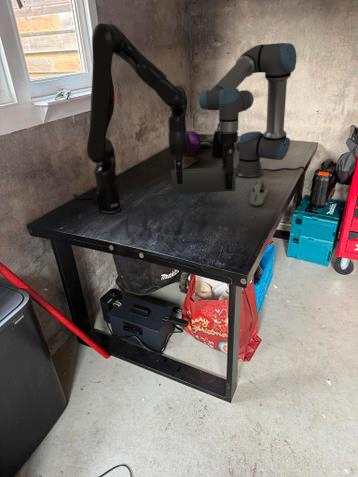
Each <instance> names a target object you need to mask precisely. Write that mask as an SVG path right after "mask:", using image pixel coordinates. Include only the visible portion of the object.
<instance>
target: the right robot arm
mask: <svg viewBox="0 0 358 477" xmlns="http://www.w3.org/2000/svg"><path fill="white" fill-rule="evenodd" d="M296 66H297V50H296V48H295V46H294V44H292V43H289V42H279V43H266V44H263V43H262V44H258V45H254V46H253V47H251V48H249V49H248V50H246V51H245V52H243V53H242V54H241V55H240V56H238V58H237V59H236V61H235V64H234V65H233V66H232V67H231V68H230V70H228V71H227V73H226V74H225V75H223V77H222V78H221V79H220V80H219V81H217V83H216V84H215V85H214V86H213V87H212V88H211V89H210V90H208V89H207V90H202V91H200V93H199V95H198V105H199V108H200V109H201V110H205V111H206V110H207V111H218V123H217V124H216V125H217V127H218V126H219V131H220V132H219V142H220V143H223V155H222V158H221V164H222V167H226V173H225V175H226V190H231V189H232V184H233V174H234V168H235V170H236V177H239V178H243V179H255V178H259V177H261V176H262V175H263V171H266V172H277V171H285V170H287V171H298V170H300V169H303V170H305V169H306V168H305V167H304V166H299V167H296V168H290V167H281V168H277V169H276V168H275V169H270V168H262V165H261V159H265V160H266V159H267V160H273V161H282V160H284V159H285V157H286V156H287V154H288V152H289V149H290V144H291V138H289V137H288V136H287V131H285V130H284V129H285V116H286V102H287V100H286V99H287V84H288V79H289V78H291V75H292V73H293V72H294V71H295V69H296ZM257 73H259V74H260V73H261V74H263V73H264V79H266V81H267V105H266V128H265V129H266V130H265V131H264V132H263V136H262V132H261V131H259V130H258V131H249V132H244V133H242V134H240V136H239V132H238V131H239V121H240V120H239V115H240V114H239V113H242V112H245V111H247V110H249V109H250V108H252V107H253V104H254V100H255V99H254V98H255V97H254V95H253V93H252V91H250V90H247V89H246V90H243V89H242V90H240V89H238V87H239V86H240V85H241V84H242V83H243V82H244V81H245V80H246V78H249V77H251V76H252V75H253V74H257ZM238 140H239V141H238ZM238 142H239V150H238V162H237V165H236V167H234V152H235V151H234V149H233V146H232V143H234V144H236V143H238ZM233 151H234V152H233ZM233 167H234V168H233ZM229 171H231V172H229Z"/></svg>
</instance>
